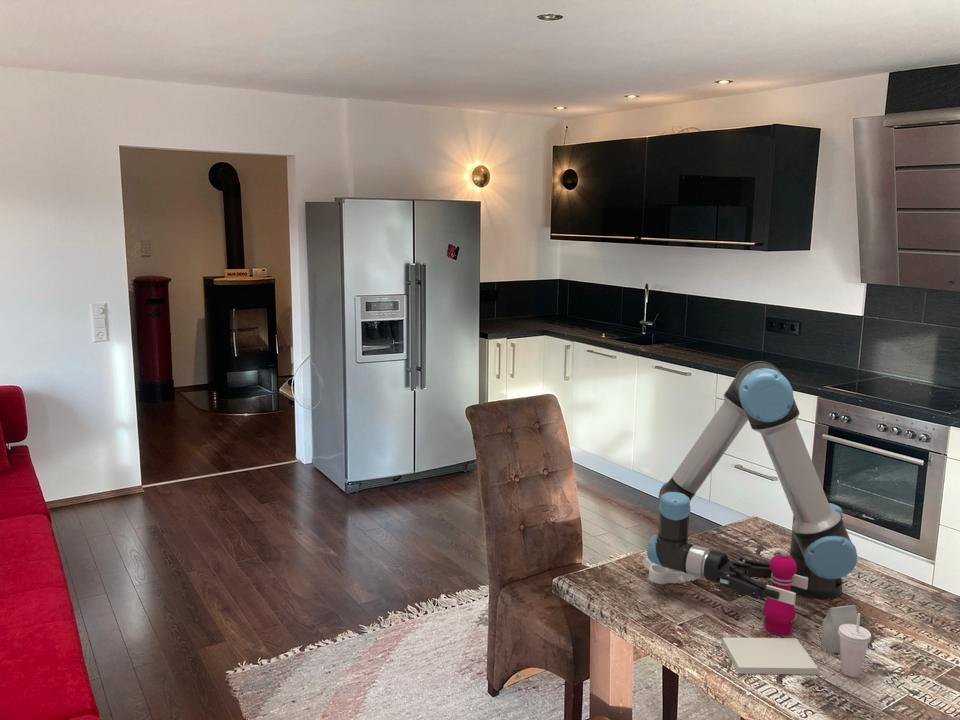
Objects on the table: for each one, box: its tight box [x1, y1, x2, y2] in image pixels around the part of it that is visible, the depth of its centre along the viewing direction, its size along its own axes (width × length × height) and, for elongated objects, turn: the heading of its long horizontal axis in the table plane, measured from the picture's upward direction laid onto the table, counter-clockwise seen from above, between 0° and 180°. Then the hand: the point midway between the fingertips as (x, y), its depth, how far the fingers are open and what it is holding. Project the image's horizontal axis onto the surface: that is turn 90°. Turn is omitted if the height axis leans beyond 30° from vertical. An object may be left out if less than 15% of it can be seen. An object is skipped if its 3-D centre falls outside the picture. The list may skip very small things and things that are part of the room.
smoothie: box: [838, 612, 872, 678], centre depth 167 cm, size 6×6×14 cm
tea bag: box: [820, 604, 860, 654], centre depth 177 cm, size 4×7×10 cm, turn 104°
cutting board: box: [721, 637, 819, 676], centre depth 173 cm, size 17×12×2 cm
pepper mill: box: [762, 549, 797, 636], centre depth 184 cm, size 7×7×20 cm
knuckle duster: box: [642, 557, 701, 585], centre depth 214 cm, size 3×18×15 cm
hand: (801, 591), depth 181 cm, fingers open, 9 cm apart
